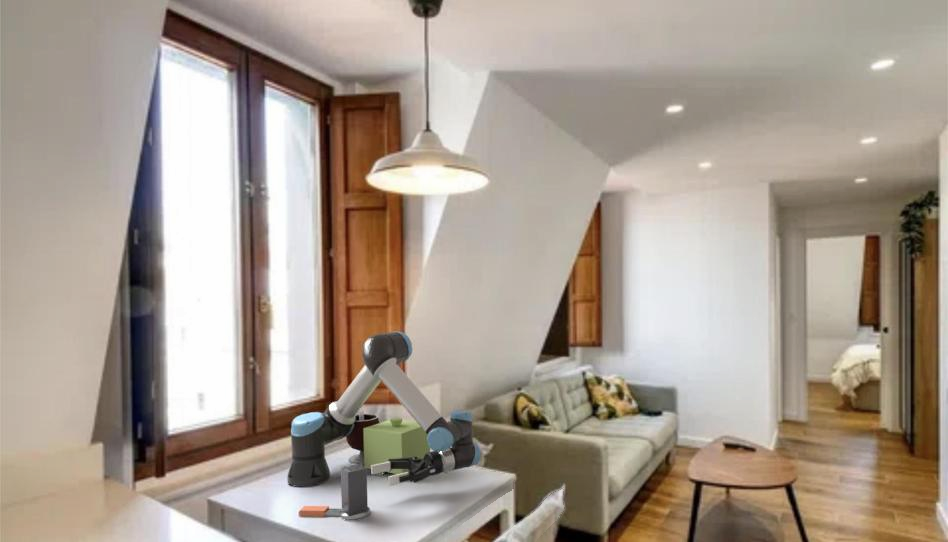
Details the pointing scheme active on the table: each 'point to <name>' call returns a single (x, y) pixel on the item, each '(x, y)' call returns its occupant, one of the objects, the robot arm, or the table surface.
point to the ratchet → (330, 512)
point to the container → (394, 442)
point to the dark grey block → (354, 489)
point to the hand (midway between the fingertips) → (379, 475)
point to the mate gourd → (360, 434)
